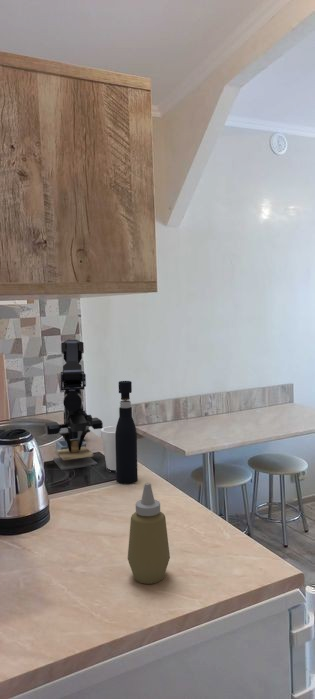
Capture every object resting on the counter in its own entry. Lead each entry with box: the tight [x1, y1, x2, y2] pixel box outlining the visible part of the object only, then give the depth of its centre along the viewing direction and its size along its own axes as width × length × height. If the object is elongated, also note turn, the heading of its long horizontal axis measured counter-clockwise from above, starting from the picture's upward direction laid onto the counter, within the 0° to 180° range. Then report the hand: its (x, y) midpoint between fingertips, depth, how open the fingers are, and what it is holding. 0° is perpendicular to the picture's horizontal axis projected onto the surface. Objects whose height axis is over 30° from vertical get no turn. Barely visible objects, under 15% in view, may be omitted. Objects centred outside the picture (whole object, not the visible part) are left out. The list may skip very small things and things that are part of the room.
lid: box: [56, 439, 94, 460], centre depth 162 cm, size 10×10×5 cm
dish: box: [55, 438, 87, 455], centre depth 173 cm, size 9×9×4 cm
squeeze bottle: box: [127, 482, 171, 585], centre depth 91 cm, size 8×8×18 cm
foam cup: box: [100, 425, 117, 470], centre depth 155 cm, size 10×9×13 cm
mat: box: [53, 456, 98, 471], centre depth 162 cm, size 12×12×1 cm
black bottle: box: [115, 380, 139, 485], centre depth 143 cm, size 6×6×30 cm
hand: (74, 450), depth 162 cm, fingers closed on lid, 3 cm apart
